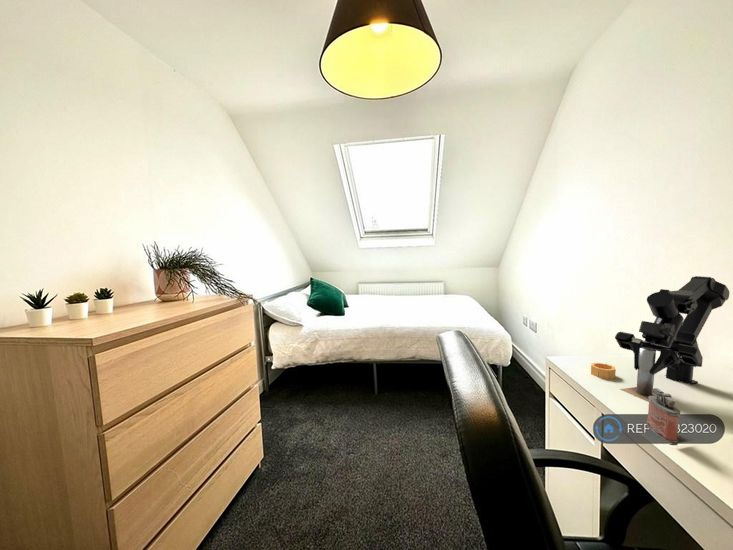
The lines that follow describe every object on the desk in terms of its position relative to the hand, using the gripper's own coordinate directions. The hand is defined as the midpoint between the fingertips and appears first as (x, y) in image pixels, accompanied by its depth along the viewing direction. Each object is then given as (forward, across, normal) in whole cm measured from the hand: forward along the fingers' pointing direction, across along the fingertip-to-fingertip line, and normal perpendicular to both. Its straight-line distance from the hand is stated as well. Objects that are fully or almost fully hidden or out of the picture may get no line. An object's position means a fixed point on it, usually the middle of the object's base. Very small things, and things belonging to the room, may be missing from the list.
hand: (643, 371), depth 94 cm
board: (+4, 0, +6) cm, 8 cm away
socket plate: (+1, -13, +10) cm, 16 cm away
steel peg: (+4, 0, +6) cm, 7 cm away
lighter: (+18, +11, -7) cm, 23 cm away
